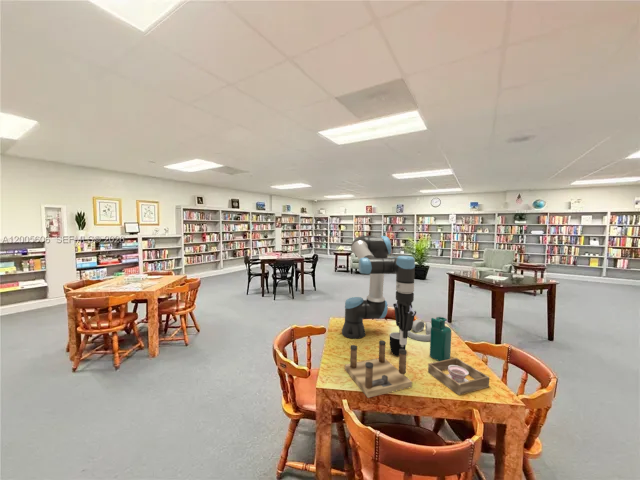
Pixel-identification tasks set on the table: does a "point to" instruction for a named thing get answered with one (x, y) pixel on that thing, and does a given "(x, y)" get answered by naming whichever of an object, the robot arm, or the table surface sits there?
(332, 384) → the table surface
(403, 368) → the loose leg
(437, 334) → the green bottle
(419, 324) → the headphones
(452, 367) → the teacup
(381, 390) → the stool top
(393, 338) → the mug
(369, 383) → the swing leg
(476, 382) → the cup coaster tray
